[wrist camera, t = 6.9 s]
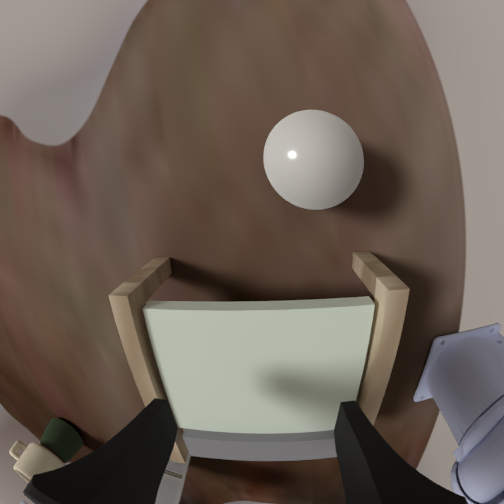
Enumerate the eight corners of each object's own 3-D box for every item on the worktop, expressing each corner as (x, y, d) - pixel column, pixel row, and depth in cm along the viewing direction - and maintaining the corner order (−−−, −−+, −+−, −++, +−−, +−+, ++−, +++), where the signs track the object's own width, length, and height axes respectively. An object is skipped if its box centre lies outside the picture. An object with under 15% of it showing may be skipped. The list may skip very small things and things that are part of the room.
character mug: (42, 417, 29) (7, 465, 17) (41, 397, 27) (-2, 452, 15) (96, 454, 30) (67, 510, 18) (101, 440, 28) (67, 504, 16)
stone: (337, 126, 16) (360, 112, 11) (340, 199, 18) (364, 209, 13) (263, 127, 17) (260, 110, 12) (267, 200, 18) (266, 211, 13)
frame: (369, 251, 18) (409, 288, 12) (345, 409, 23) (357, 462, 16) (154, 257, 19) (108, 295, 13) (188, 410, 24) (171, 461, 18)
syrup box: (147, 426, 26) (104, 526, 12) (196, 445, 26) (168, 549, 12) (143, 446, 27) (107, 532, 13) (186, 463, 27) (161, 552, 14)
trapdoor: (339, 438, 17) (343, 455, 16) (189, 438, 18) (184, 454, 17) (368, 296, 14) (379, 311, 12) (149, 300, 15) (136, 315, 13)
